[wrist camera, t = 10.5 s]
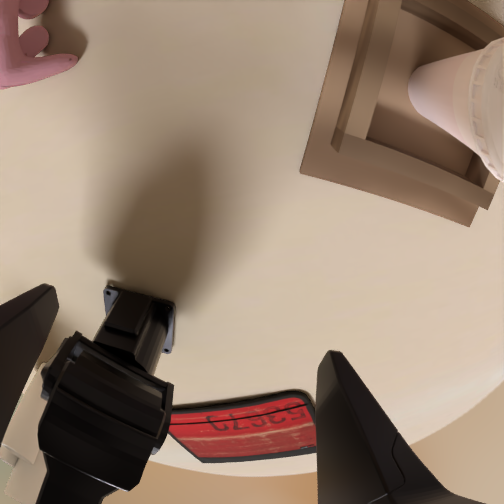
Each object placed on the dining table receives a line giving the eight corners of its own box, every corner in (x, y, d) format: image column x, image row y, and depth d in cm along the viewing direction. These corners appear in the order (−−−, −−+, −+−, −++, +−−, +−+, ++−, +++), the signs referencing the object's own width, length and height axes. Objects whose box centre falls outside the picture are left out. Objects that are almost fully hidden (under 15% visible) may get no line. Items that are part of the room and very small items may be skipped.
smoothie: (466, 49, 13) (643, 73, 1) (472, 139, 17) (628, 238, 5) (381, 41, 14) (562, 15, 2) (392, 141, 17) (550, 262, 5)
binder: (333, 451, 37) (202, 465, 42) (332, 438, 39) (205, 453, 44) (303, 395, 30) (143, 415, 35) (302, 378, 32) (148, 401, 37)
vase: (96, 411, 39) (57, 522, 22) (63, 405, 40) (24, 504, 23) (56, 363, 33) (-3, 489, 16) (24, 359, 34) (-33, 468, 17)
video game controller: (54, -25, 13) (-24, -15, 8) (83, -50, 11) (-6, -47, 6) (56, 80, 18) (-24, 104, 13) (84, 67, 16) (-12, 91, 11)
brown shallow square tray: (466, 224, 20) (485, 243, 18) (299, 171, 19) (303, 186, 17) (521, 44, 12) (546, 45, 10) (356, -50, 11) (368, -67, 9)
